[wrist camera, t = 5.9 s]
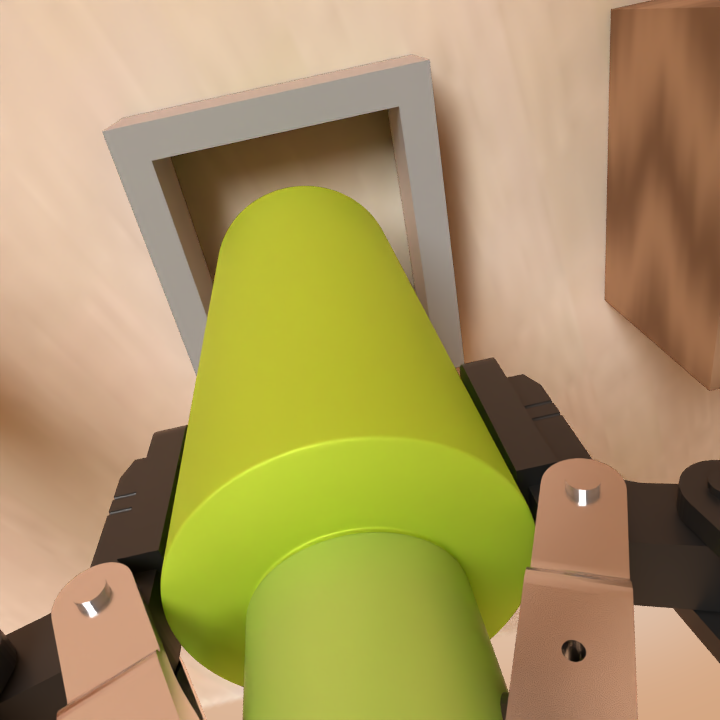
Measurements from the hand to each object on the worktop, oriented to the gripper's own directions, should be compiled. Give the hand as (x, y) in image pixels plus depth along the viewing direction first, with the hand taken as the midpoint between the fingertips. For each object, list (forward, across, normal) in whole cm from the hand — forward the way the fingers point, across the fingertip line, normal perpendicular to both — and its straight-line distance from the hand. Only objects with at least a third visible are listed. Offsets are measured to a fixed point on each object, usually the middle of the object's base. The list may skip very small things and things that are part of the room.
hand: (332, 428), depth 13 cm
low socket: (+14, 0, 0) cm, 14 cm away
